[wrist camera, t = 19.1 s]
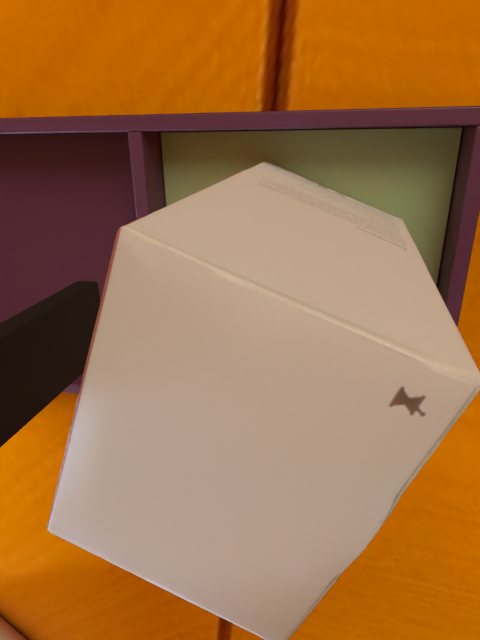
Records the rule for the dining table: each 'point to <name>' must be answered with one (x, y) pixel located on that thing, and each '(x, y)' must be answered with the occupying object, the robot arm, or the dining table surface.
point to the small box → (257, 395)
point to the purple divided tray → (217, 165)
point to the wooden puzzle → (8, 632)
